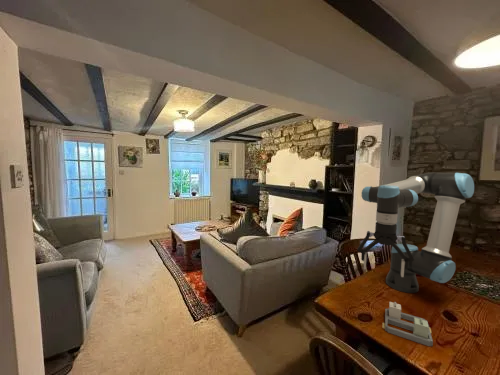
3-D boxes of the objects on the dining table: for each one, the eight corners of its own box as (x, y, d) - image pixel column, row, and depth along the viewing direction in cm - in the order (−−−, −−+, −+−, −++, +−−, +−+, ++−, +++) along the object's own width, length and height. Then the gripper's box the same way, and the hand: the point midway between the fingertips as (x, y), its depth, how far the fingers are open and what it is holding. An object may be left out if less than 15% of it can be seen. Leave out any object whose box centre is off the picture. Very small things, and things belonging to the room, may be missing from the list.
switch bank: (381, 313, 100) (382, 306, 99) (430, 327, 91) (430, 320, 91) (381, 333, 88) (381, 325, 87) (436, 352, 79) (437, 344, 78)
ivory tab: (388, 314, 97) (389, 299, 96) (399, 317, 95) (400, 302, 94) (388, 319, 93) (389, 304, 93) (400, 323, 91) (401, 307, 91)
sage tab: (412, 331, 87) (414, 315, 86) (425, 335, 85) (427, 319, 84) (413, 338, 83) (415, 321, 83) (427, 342, 81) (429, 325, 81)
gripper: (352, 220, 95) (349, 268, 97) (425, 229, 83) (420, 283, 85) (353, 217, 102) (351, 261, 104) (422, 224, 89) (417, 275, 91)
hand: (382, 271), depth 94 cm, fingers open, 13 cm apart
